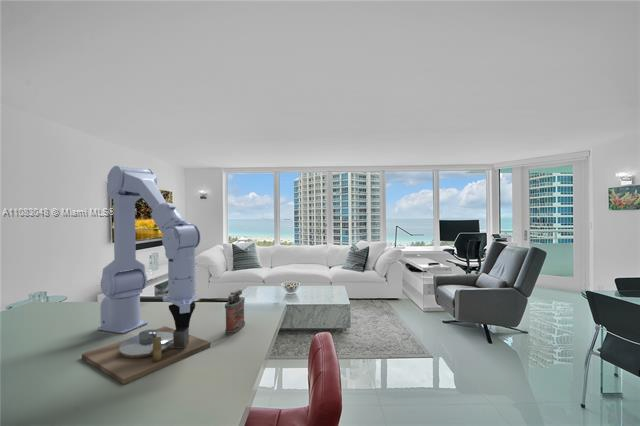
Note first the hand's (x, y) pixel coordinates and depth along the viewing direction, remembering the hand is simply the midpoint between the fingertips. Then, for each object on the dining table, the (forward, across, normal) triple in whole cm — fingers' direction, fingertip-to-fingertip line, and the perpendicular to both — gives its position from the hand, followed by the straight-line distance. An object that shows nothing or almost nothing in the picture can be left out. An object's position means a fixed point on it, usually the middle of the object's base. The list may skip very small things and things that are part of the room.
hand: (182, 334), depth 74 cm
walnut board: (+3, -1, -7) cm, 8 cm away
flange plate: (+2, -1, -6) cm, 6 cm away
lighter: (+3, -6, +14) cm, 15 cm away
